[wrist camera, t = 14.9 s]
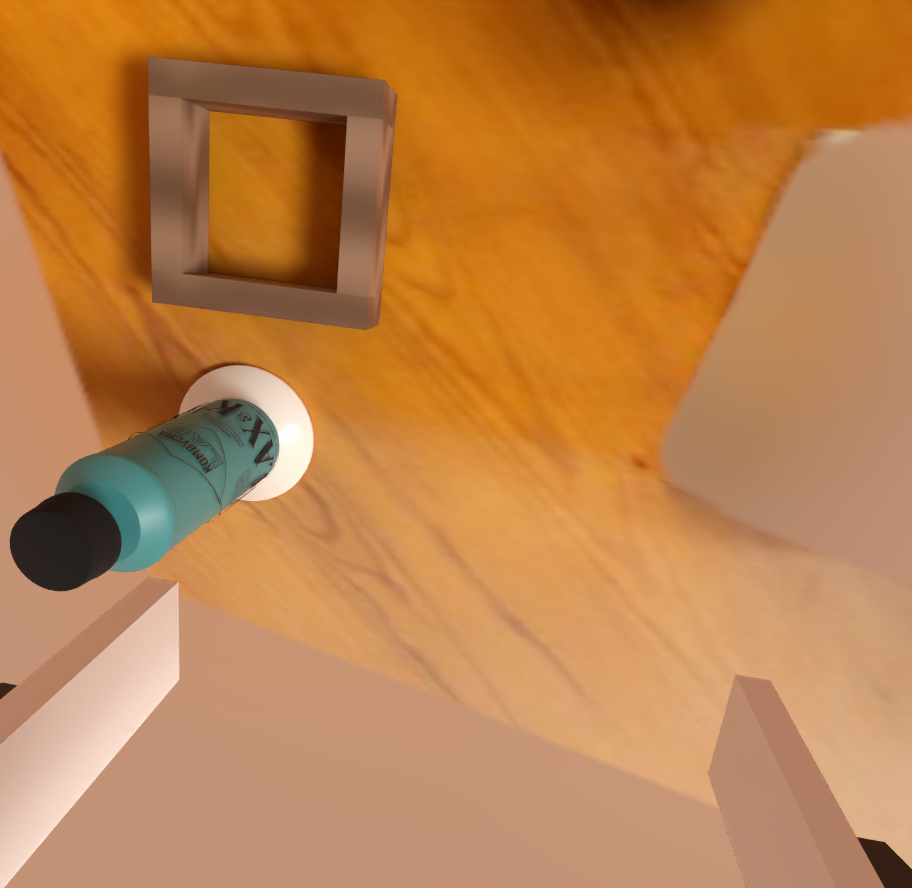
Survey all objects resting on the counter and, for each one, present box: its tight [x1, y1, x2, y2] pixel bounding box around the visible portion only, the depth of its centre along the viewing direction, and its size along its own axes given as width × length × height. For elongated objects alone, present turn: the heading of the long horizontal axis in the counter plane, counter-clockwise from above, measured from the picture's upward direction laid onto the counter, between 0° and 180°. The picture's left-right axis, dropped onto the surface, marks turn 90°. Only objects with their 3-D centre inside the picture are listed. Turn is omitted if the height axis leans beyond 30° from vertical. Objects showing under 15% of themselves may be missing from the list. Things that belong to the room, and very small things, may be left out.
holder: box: [148, 57, 397, 330], centre depth 41 cm, size 14×14×4 cm
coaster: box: [178, 365, 314, 501], centre depth 47 cm, size 10×10×1 cm
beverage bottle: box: [10, 397, 279, 591], centre depth 38 cm, size 6×7×20 cm
